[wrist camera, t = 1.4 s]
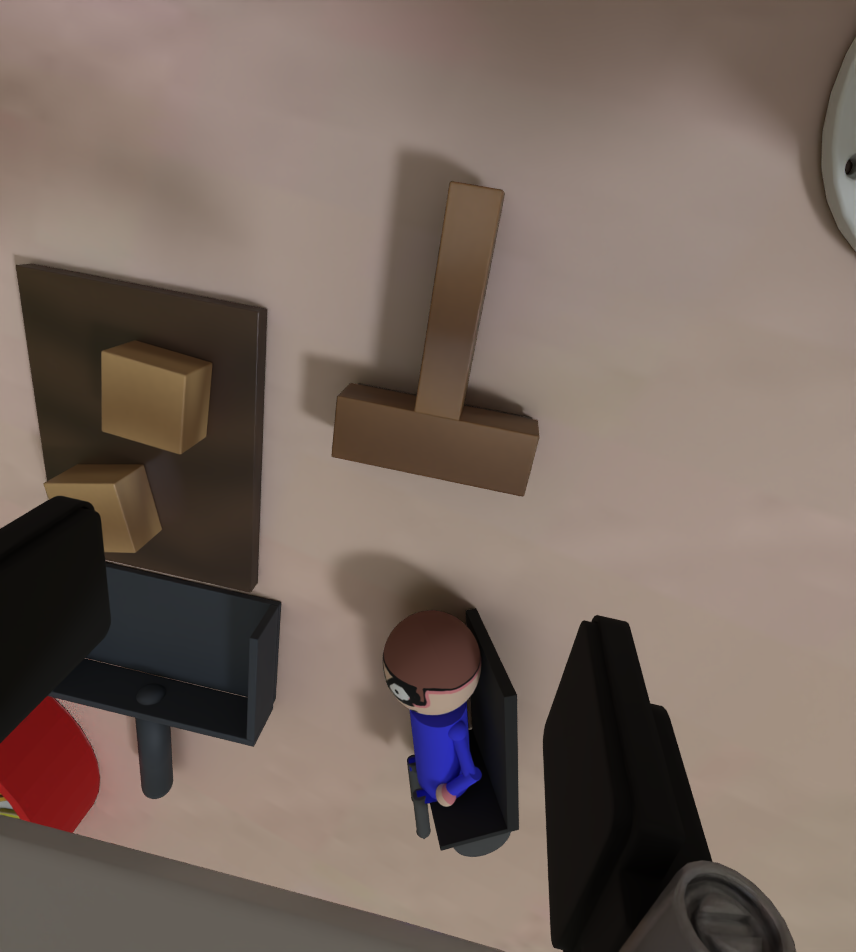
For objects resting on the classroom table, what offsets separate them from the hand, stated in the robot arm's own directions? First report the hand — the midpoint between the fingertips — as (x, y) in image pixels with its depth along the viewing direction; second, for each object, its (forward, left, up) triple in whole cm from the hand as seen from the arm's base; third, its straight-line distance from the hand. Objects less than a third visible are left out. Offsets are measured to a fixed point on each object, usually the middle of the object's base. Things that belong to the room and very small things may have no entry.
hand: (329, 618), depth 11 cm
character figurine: (+18, +4, -18) cm, 26 cm away
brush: (-2, 0, -18) cm, 18 cm away
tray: (+6, -15, -18) cm, 24 cm away
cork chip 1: (+3, -13, -17) cm, 22 cm away
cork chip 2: (+10, -16, -17) cm, 26 cm away
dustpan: (+24, -15, -18) cm, 34 cm away
